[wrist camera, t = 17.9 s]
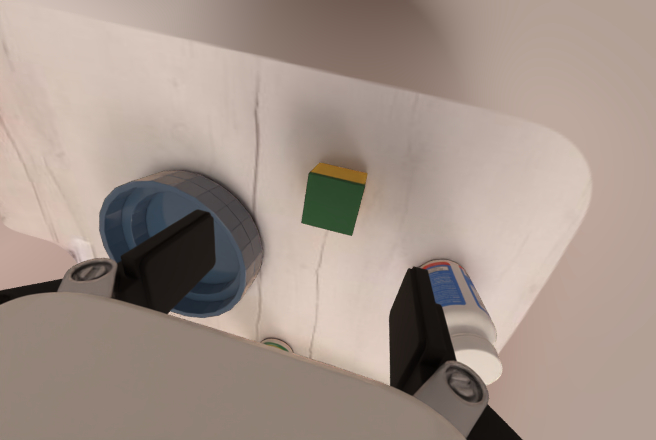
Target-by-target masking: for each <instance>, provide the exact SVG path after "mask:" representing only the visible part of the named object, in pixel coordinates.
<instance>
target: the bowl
mask: <svg viewBox="0 0 656 440" xmlns="http://www.w3.org/2000/svg"><path fill="white" fill-rule="evenodd" d="M197 209H198V210H202V211H206V212H209V213H210V214H211V216H212V217H213V218H214V234H215V254H216V263H215V265H214V267H213V268H212V269H211V270H210V271H209V272H208V273H207V274H206V275H205V276H204V277H203V278H202V279H201V280H200V281H199V282H198V283H197V284H196V285H195V287H194V288H193V289H192V290H191V291H190V292H189V293H188V294H187V295H186V296H185V297H184V298H183V299H182V300H181V301H180V302H179V303H178V304H177V305H176V306H175V307H174V308H173V309H172V310H171V312H174V313H177V314H181V315H184V316H188V317H198V318H206V317H213V316H219V315H221V314H223V313H225V312H227V311H229V310H231V309H232V308H233V307H234V306H235V305H236V304H237V303H238V302H239V301H240V300H241V298H242V297H243V295H244V294H245V292H246V291H247V290H248V288H249V287H250V285H251V284H252V283H253V281H254V280H255V278H256V277H257V274H258V272H259V270H260V267H261V264H262V245H261V240H260V235H259V232H258V230H257V228H256V226H255V224H254V222H253V220H252V218H251V216H250V214H249V213H248V212H247V210H246V209H245V208H244V207H243V205H242V204H241V203H240V202H239V200H238V199H237V198H236V197H234V196H233V195H232V194H231V193H229V192H228V191H227V190H226V189H225V188H223V187H222V186H221V185H219V184H218V183H216V182H214V181H212V180H210V179H208V178H206V177H204V176H202V175H199V174H195V173H191V172H187V171H183V170H182V171H181V170H174V171H162V172H159V173H156V174H153V175H149V176H146V177H143V178H140V179H137V180H134V181H131V182H128V183H126V184H123V185H121V186H118V187H116V188H115V189H114V190H113V191H112V192H111V193H110V194H109V195H108V196H107V197H106V198H105V200H104V202H103V205H102V208H101V210H100V214H99V231H100V235H101V238H102V242H103V246H104V248H105V250H106V252H107V254H108V256H109V258H110V259H112V260H114V261H115V262H116V263H118V262H120V261H122V260H121V257H120V256H121V255H123V254H124V253H126V252H128V251H129V250H131V249H133V248H134V247H136V246H138V245H139V244H141V243H142V242H144V241H146V240H147V239H149V238H151V237H152V236H154V235H155V234H157V233H159V232H160V231H162V230H164V229H165V228H167V227H168V226H170V225H172V224H173V223H175V222H177V221H178V220H180V219H182V218H183V217H185V216H186V215H188V214H190V213H191V212H193V211H195V210H197Z"/></svg>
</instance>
